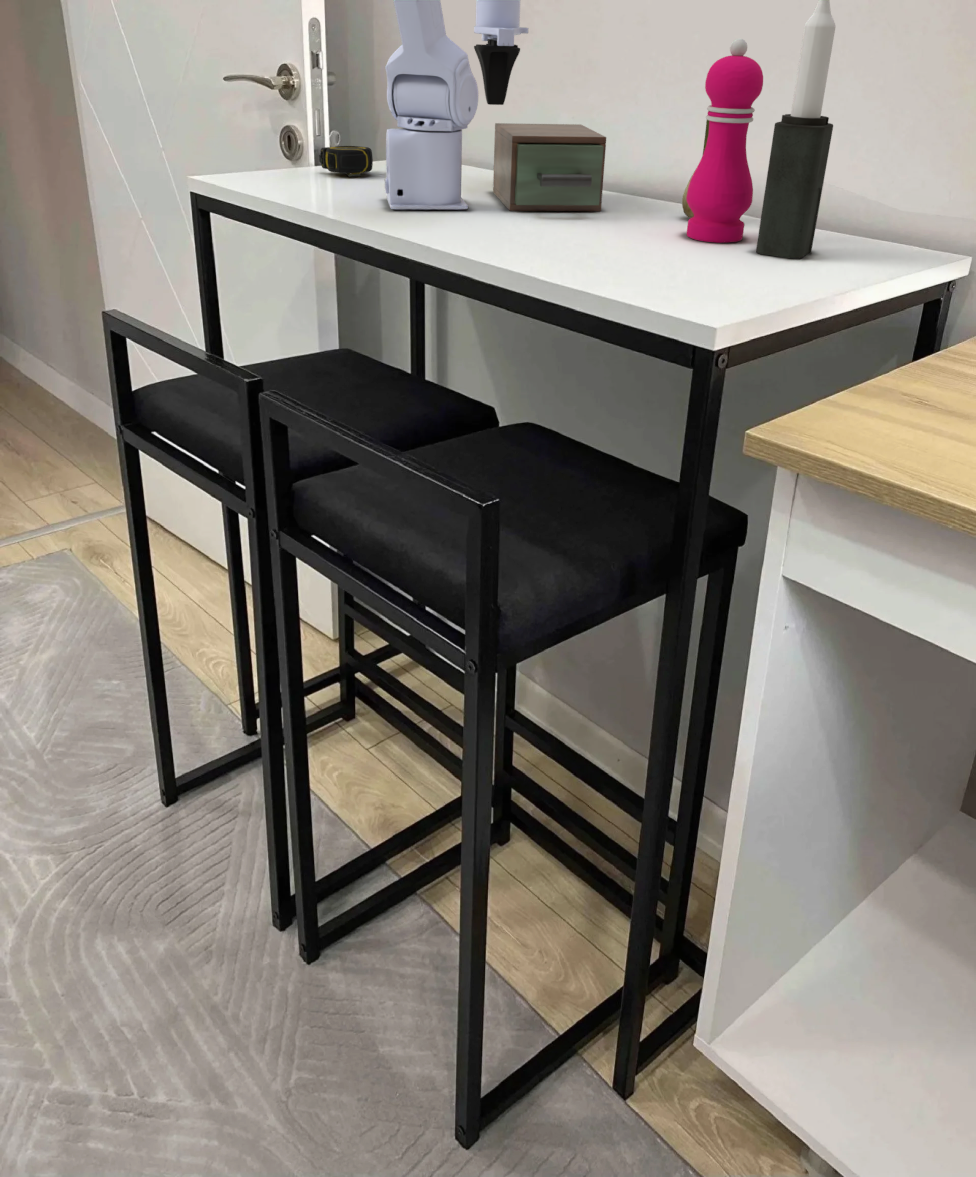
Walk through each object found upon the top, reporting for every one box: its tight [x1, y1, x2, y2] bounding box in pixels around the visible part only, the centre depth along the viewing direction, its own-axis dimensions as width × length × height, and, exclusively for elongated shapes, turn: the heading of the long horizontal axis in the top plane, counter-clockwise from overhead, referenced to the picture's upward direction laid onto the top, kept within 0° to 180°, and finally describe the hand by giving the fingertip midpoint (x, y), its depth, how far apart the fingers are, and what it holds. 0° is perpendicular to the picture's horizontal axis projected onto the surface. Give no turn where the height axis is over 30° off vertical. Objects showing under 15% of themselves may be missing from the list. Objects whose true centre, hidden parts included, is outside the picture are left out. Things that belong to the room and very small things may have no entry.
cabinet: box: [492, 122, 607, 212], centre depth 135 cm, size 14×12×9 cm
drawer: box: [515, 143, 603, 205], centre depth 132 cm, size 17×10×7 cm, turn 8°
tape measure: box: [318, 145, 374, 177], centre depth 151 cm, size 7×7×4 cm
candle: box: [755, 0, 836, 259], centre depth 107 cm, size 5×5×25 cm
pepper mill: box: [686, 38, 764, 244], centre depth 115 cm, size 7×7×20 cm
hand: (495, 104), depth 142 cm, fingers closed
